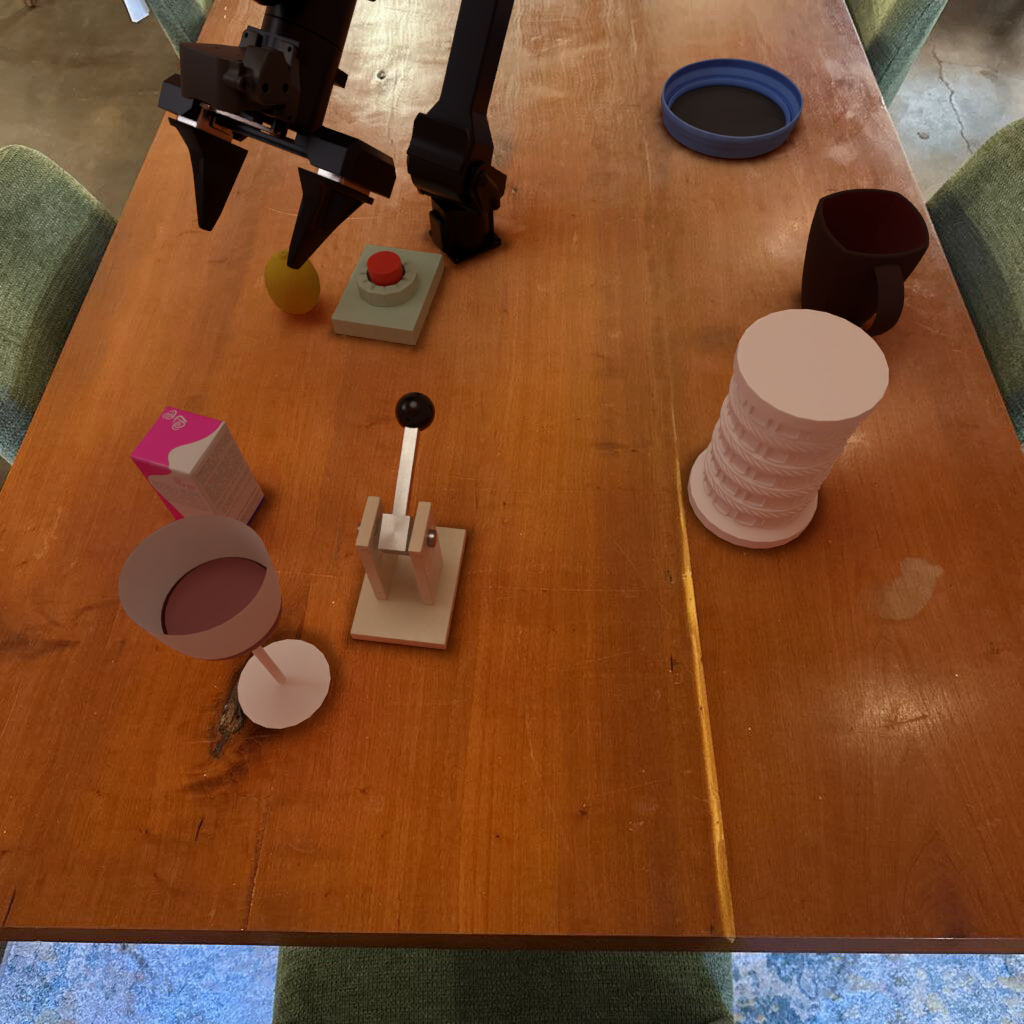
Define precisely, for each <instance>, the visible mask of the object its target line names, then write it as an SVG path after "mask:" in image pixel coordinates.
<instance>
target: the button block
mask: <svg viewBox="0 0 1024 1024" xmlns="http://www.w3.org/2000/svg"><path fill="white" fill-rule="evenodd" d="M380 251H391V252H394V253H396V254H397V255H398V256H399V257H400V259H401V263H402V269H403V277H402V279H401V280H400V281H399V282H398V283H397V284H394V285H390V286H386V287H384V286H378V285H375V284H374V283H373V282H372V281H371V280H370V277H369V272H368V268H367V261H368V259H369V258H370V256H372V255H373V254H375V253H377V252H380ZM444 272H445V265H444V255H443V254H442V253H436V252H428V251H420V250H413V249H406V248H398V247H391V246H384V245H376V244H372V243H371V244H370V243H365V246H364V248H363V250H362V252H361V254H360V257H359V258H358V260H357V262H356V265H355V267H354V269H353V271H352V274H351V275H350V278H349V280H348V282H347V284H346V286H345V288H344V290H343V293H342V295H341V297H340V298H339V301H338V303H337V305H336V307H335V310H334V311H333V314H332V316H331V318H330V319H331V323H332V326H333V329H334V330H333V331H334V333H335V334H338V335H344V336H351V337H358V338H364V339H370V340H375V341H381V342H382V341H383V342H389V343H396V344H402V345H409V346H414V347H415V346H416V345H417V342H418V339H419V337H420V334H421V332H422V329H423V327H424V323H425V321H426V318H427V316H428V314H429V311H430V308H431V305H432V303H433V300H434V297H435V295H436V293H437V290H438V287H439V285H440V282H441V279H442V277H443V274H444Z"/></svg>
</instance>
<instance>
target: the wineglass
mask: <svg viewBox="0 0 1024 1024" xmlns="http://www.w3.org/2000/svg"><path fill="white" fill-rule="evenodd" d="M120 570H121V571H120V573H119V577H118V585H117V591H118V599H119V602H120V605H121V607H122V609H123V611H124V612H125V614H126V615H127V616H128V617H129V619H131V621H132V622H134V623H135V624H136V625H137V626H138V627H140V628H141V629H142V630H143V631H145V632H147V633H148V634H149V635H150V636H152V637H153V638H155V639H156V640H157V641H159V642H161V643H162V644H163V645H164V646H166V647H168V648H170V649H172V650H173V651H175V652H178V653H180V654H181V655H184V656H187V657H190V658H192V659H197V660H203V661H210V662H211V661H212V662H213V661H215V662H217V661H227V660H232V659H237V658H241V657H243V656H246V655H247V654H250V653H252V654H253V656H251V657H250V658H249V659H248V661H247V662H246V663H245V665H244V667H243V669H242V671H241V673H240V676H239V680H238V683H237V698H238V700H237V701H238V703H239V705H240V708H241V710H242V712H243V714H244V715H245V716H246V717H247V718H249V720H251V722H253V723H254V724H257V725H259V726H261V727H263V728H266V729H278V730H281V729H286V728H290V727H294V726H297V725H299V724H301V723H302V722H304V721H306V720H307V719H309V718H310V717H312V716H313V714H314V713H315V712H316V711H317V710H318V709H319V708H320V707H321V706H322V705H323V702H324V701H325V699H326V697H327V695H328V693H329V688H330V684H331V679H332V678H331V672H330V671H331V670H330V665H329V662H328V660H327V659H326V656H325V654H324V653H323V652H322V651H321V650H320V649H319V648H318V647H316V645H314V644H312V643H309V642H307V641H304V640H302V639H292V638H291V639H289V638H287V639H282V640H278V641H273V642H271V643H270V644H268V645H265V646H264V647H263V646H262V645H264V644H265V643H266V642H267V641H268V640H269V639H270V638H271V637H272V635H273V634H274V633H275V631H276V629H277V628H278V626H279V624H280V621H281V618H282V612H283V596H282V590H281V585H280V581H279V577H278V576H279V575H278V573H277V572H278V571H277V569H276V567H275V565H274V563H273V560H272V558H271V555H270V553H269V551H268V549H267V547H266V545H265V542H263V540H262V538H261V536H259V535H258V533H257V532H256V531H255V530H254V529H253V528H252V527H251V526H250V525H249V526H247V525H246V524H244V523H243V522H241V521H238V520H236V519H233V518H230V517H226V516H220V515H198V516H191V517H187V518H183V519H179V520H174V521H171V522H168V523H166V524H165V525H163V526H161V527H159V528H157V529H155V531H152V532H151V533H149V534H148V535H147V536H146V537H144V538H143V539H142V540H141V541H140V542H139V543H138V544H137V545H136V546H135V547H134V548H133V549H132V551H131V552H130V554H128V556H127V558H126V560H125V561H124V564H123V565H122V568H121V569H120Z"/></svg>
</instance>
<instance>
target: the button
mask: <svg viewBox="0 0 1024 1024" xmlns="http://www.w3.org/2000/svg"><path fill="white" fill-rule="evenodd" d="M367 268H368V272H369V277H370V280H371V281H372V282H373V283H374V284H375V285H378V286H384V287H386V286H390V285H394V284H397V283H398V282H399V281H400V280H401V279H402V277H403V269H402V263H401V259H400V257H399V256H398V255H397V254H396V253H394V252H391V251H380V252H377V253H375V254H373V255H372V256H370V258H369V259H368V261H367Z"/></svg>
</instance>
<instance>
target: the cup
mask: <svg viewBox="0 0 1024 1024" xmlns="http://www.w3.org/2000/svg"><path fill="white" fill-rule="evenodd" d="M808 232H809V233H808V237H807V241H806V248H805V254H804V260H803V267H802V276H801V285H800V286H801V288H800V289H801V290H800V291H801V292H800V295H801V296H800V298H801V299H800V305H801V306H800V307H801V309H809V310H815V311H821V312H827V313H829V314H832V315H835V316H838V317H840V318H843V319H845V320H847V321H849V322H851V323H852V324H854V325H856V326H858V327H859V328H861V329H862V330H863V331H864V332H865V333H867V334H868V335H869V336H870V337H871V338H873V337H877V336H878V337H879V336H881V335H884V334H886V333H888V332H889V331H891V330H892V329H893V328H894V327H895V326H897V324H898V323H899V320H900V318H901V315H902V313H903V309H904V304H905V294H906V293H905V282H906V281H907V280H908V278H909V277H910V276H911V274H912V273H913V272H914V271H915V269H916V268H917V266H918V265H919V263H920V262H921V260H922V259H923V257H924V255H925V254H926V253H927V250H928V249H929V247H930V233H929V229H928V225H927V222H926V220H925V218H924V217H923V215H922V213H921V212H920V210H919V209H918V208H917V207H916V206H915V205H914V204H913V203H912V201H911V200H910V199H908V198H907V197H906V196H904V195H903V194H901V193H900V192H898V191H895V190H888V189H883V188H882V189H881V188H852V189H851V188H850V189H844V190H840V191H835V192H832V193H829V194H827V195H825V196H822V197H820V198H819V200H818V202H817V205H816V208H815V209H814V214H813V218H812V220H811V224H810V228H809V231H808ZM872 317H874V319H873V321H872V323H871V325H870V326H869V327H868V329H864V328H863V327H862V326H863V325H864V324H865V323H867V322H868V321H869V320H870V319H871V318H872Z"/></svg>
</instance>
